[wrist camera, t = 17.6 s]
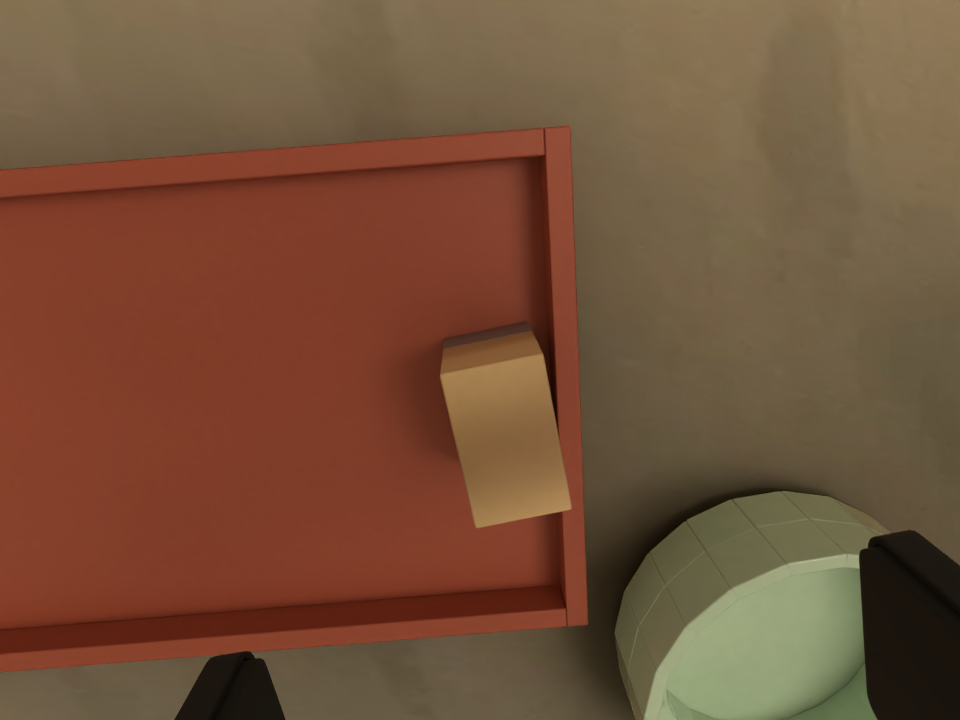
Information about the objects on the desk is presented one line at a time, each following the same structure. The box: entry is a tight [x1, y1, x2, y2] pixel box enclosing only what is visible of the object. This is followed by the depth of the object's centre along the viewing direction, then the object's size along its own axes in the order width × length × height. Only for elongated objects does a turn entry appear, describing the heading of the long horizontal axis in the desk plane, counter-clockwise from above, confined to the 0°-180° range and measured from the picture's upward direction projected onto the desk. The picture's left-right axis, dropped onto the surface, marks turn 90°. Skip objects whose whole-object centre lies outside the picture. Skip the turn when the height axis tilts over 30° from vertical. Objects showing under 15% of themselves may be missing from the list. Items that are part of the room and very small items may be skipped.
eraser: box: [440, 321, 572, 528], centre depth 21 cm, size 5×3×4 cm, turn 12°
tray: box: [0, 126, 588, 672], centre depth 23 cm, size 34×18×2 cm, turn 94°
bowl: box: [614, 491, 891, 720], centre depth 24 cm, size 12×12×5 cm
